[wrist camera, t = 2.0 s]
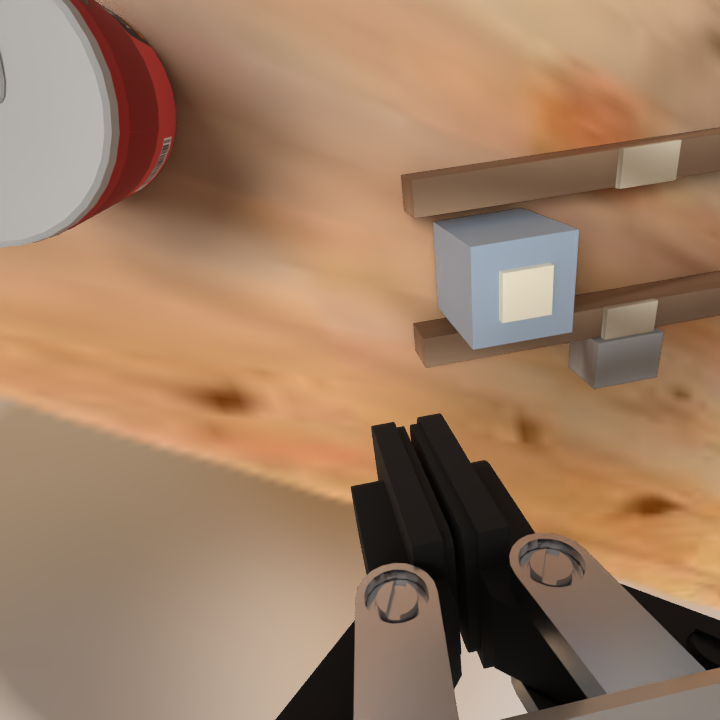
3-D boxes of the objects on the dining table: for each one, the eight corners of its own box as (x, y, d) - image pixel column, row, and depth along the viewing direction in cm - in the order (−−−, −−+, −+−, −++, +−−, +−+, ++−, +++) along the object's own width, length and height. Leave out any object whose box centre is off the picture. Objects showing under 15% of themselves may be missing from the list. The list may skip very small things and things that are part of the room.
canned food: (160, -1, 22) (65, -95, 12) (195, 192, 26) (143, 239, 16) (-31, 4, 21) (-296, -92, 11) (33, 203, 25) (-129, 261, 15)
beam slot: (400, 174, 27) (414, 180, 24) (851, 106, 28) (911, 105, 26) (419, 394, 32) (431, 419, 30) (791, 326, 34) (834, 343, 32)
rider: (433, 221, 28) (473, 249, 22) (521, 207, 28) (584, 231, 22) (437, 307, 30) (475, 353, 24) (519, 293, 30) (576, 335, 25)
